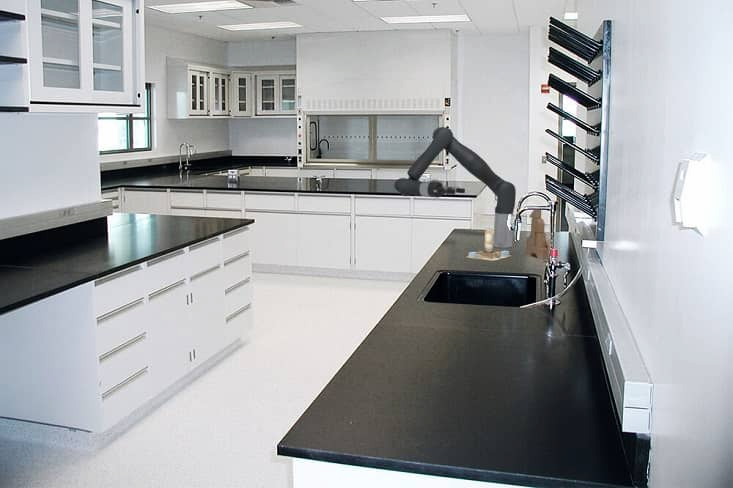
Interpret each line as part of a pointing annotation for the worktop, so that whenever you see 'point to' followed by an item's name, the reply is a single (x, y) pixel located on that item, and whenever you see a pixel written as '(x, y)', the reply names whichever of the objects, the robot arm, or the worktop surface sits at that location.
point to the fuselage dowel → (489, 240)
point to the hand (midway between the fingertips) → (459, 191)
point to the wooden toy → (537, 238)
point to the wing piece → (504, 253)
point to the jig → (489, 256)
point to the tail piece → (473, 254)
